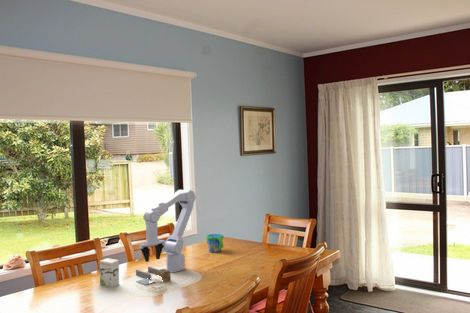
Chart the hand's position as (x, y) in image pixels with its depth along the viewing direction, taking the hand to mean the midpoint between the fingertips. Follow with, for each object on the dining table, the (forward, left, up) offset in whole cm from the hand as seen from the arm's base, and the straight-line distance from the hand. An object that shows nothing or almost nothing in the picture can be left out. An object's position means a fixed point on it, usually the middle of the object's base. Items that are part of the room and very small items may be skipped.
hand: (152, 260), depth 215 cm
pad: (+8, +5, -8) cm, 12 cm away
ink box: (+21, -6, -9) cm, 23 cm away
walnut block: (0, +9, -8) cm, 13 cm away
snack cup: (-56, -13, -9) cm, 58 cm away
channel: (0, -3, -8) cm, 9 cm away
